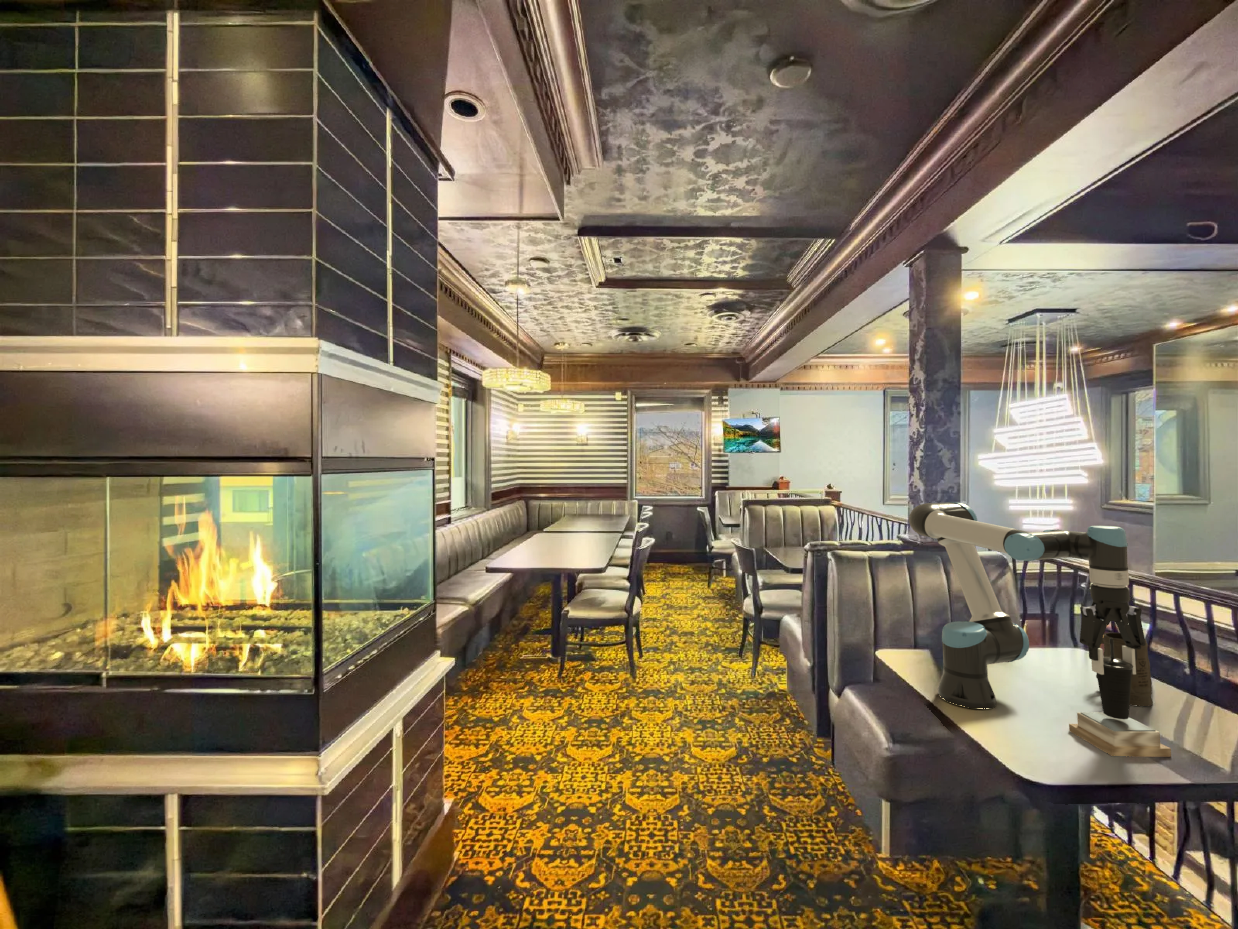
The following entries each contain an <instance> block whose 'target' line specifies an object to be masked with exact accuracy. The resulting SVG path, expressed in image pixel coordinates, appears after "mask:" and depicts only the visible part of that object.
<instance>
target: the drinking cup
mask: <svg viewBox="0 0 1238 929" xmlns="http://www.w3.org/2000/svg"><path fill="white" fill-rule="evenodd" d="M1110 652H1111V657H1103V664H1104V665H1103V667H1104V675H1101V674H1099V673H1096V674H1097V678H1096V679H1097V685H1098V690H1099V696H1100V697H1099V698H1100V702H1101V707H1102V708H1101V709H1102V712H1103V713H1104V714H1105V715H1107V716H1110V717H1113V718H1117V719H1128V718H1129V716H1130V706H1131V705H1130V691H1131V676H1132V669H1133V665H1132V664H1130V663H1128V662H1126V661H1124V660H1121V659H1118V658H1114V643H1113V638H1110Z"/></svg>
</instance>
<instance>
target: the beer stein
mask: <svg viewBox="0 0 1238 929" xmlns="http://www.w3.org/2000/svg"><path fill="white" fill-rule="evenodd" d="M1110 638H1113V643H1114V658H1118V659H1121V660H1123V655H1122V646H1127V645H1126V644H1125V642H1124V640H1123V638H1122V636H1121V634H1120V632H1104V635H1103V638H1102V641H1101V644H1100V647H1099V648H1100V649H1101V645H1103V647H1104V648H1103V657H1111V652H1110ZM1145 643H1146V644H1145V646H1141V649H1140V650H1138V649H1137V660H1135V665H1136V674H1132V676H1131V691H1130V705H1129V706H1132V705H1137V706H1136V707H1140V706H1148V707H1151V706H1153V704H1154V702H1153V698H1152V694H1153V692H1152V691H1153V690H1152V689H1153V686H1152V684H1153V682H1152V674H1151V664H1150V659H1149V653H1148V647H1149V645H1148V641H1147V639H1146V638H1145ZM1095 678H1096V679H1097V673H1096V675H1095Z"/></svg>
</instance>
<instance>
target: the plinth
mask: <svg viewBox="0 0 1238 929" xmlns="http://www.w3.org/2000/svg"><path fill="white" fill-rule="evenodd" d="M1076 718H1077V723H1068V728H1069V729H1068V730H1069V732H1070V733H1072V734H1073V733H1074V735H1075V736H1077V737H1078V736H1079V738H1080V739H1082V740H1084V741H1086V742H1087V743H1089V744H1090V745H1092V746H1094V747H1095V748H1097V749H1099V750H1101V751H1102V752H1104V753H1106V754H1107V753H1108V755H1109V756H1110V757H1112V756H1126V757H1127V756H1129V758H1130V757H1131V756H1132V758H1135V757H1136V758H1137V757H1138V758H1139V757H1142V758H1146V757H1149V758H1151V757H1153V758H1154V757H1155V758H1160V757H1164V758H1165V757H1166V758H1167V757H1168V758H1170V757H1171V758H1172V748H1171V747H1169V746H1167V745H1164V744H1162V743H1161V735H1160V734H1161V733H1160V731H1158V730H1156V729H1154V728H1152V727H1150V726H1148V725H1146V724H1144V723H1142V722H1140V721H1138V720H1136V719H1133V718H1131V717H1129V718H1128V719H1117V718H1113V717H1110V716H1107V715H1105V714H1104V713H1103V711H1101V712H1100V711H1099V712H1098V711H1093V712H1091V711H1089V712H1088V711H1087V712H1086V711H1083V712H1082V711H1080V712H1076ZM1126 757H1125V758H1126Z"/></svg>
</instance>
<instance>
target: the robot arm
mask: <svg viewBox="0 0 1238 929" xmlns="http://www.w3.org/2000/svg"><path fill="white" fill-rule="evenodd" d="M908 521H909V525H910V527H911V529H912V530H913V531H914V532H915V533H916V534H918V535H920V536H923V537H928V538H931V539H936V540H937V543H938V544H939V545H940V546H942V547H945V548H944V549H945V550H946V553H947V555H948V558H949V560H950V563H951V565H952V568H953V570H954V571H953V572H954V573H955V576H956V578H957V581H958V583H959V586H960V588H961V592H962V594H963V597H964V599H965V601H966V604H967V607H968V609H969V611H970V614H971V618H970V619H969V620H968V621H966V620H965V621H960V620H958V621H951V622H948V623H946V624H945V625H944V626H943V627H942V630H941V631H942V633H941V643H942V661H943V662H942V663H943V664H942V665H943V673H942V675H941V678H940V681H939V684H938V686H937V687H938V688H937V690H938V694H939V695H940V696H941V698H944V699H945V700H946V701H948V702H951V703H954V704H957V705H962V706H965V707H969V708H983V709H984V708H985V710H987V709H986V708H992V709H994V708H995V707H996V706H997V697H996V695H995V692H994V690H993V687H992V685H991V683H990V680H989V674H988V665H993V664H1002V663H1014V662H1015V661H1019V660H1022V659H1023V658H1024V657H1026V655H1027V654H1028V652H1029V649H1030V639H1029V637H1028V634H1027V632H1026V631H1025V629H1023V627H1021V626H1020V625H1018V624H1017V623H1014V622H1013V621H1012V618H1011V616H1010V614H1008V613H1006V612H1004V611H1003V610H1002V608H1001V606H1000V605H1001V604H1000V603H999V600H998V598H997V596H996V593H995V590H994V588H993V586H992V584H991V581H990V579H989V576H988V574H987V572H986V570H985V567H984V564H983V562H982V560H981V557H980V555H979V553H978V550H977V547H979V548H983V549H987V550H991V551H996V552H1000V553H1003V554H1007V555H1008V556H1010V557H1011V558H1012V559H1014V560H1017V561H1025V562H1030V561H1031V562H1033V561H1041V560H1051V559H1053V560H1054V559H1065V558H1066V559H1067V558H1070V559H1077V560H1083V561H1084V560H1085V561H1086V560H1087V561H1088V566H1089V568H1088V569H1089V572H1088V573H1089V582H1090V583H1091V584H1090V585H1089V589H1090V590H1089V591H1090V597H1091V599H1092V604H1091V605H1090V606H1080V607H1079V608H1080V614H1081V620H1080V621H1081V622H1080V633H1079V643H1080V644H1082V645H1084V646H1087V648H1088V658H1089V659H1090V660H1091V671H1092V672H1094V673H1096V674H1097V673H1099V674H1101V675H1104V667H1103V665H1104V664H1103V654H1104V648H1101V645H1102V644H1101V641H1102V638H1103V637H1104V634H1105V633H1106V629H1107V627H1108V626H1109V625H1110V624H1111V622H1114V623H1115V624H1116V627H1117V629H1118V632H1119V633H1120V634H1121V636H1122V638H1123V640H1124V642H1125V644H1126V645H1127V646H1122V655H1123V660H1124V661H1126V662H1128V663H1130V664H1132V665H1133V669H1132V674H1136V665H1135V660H1137V649H1138V650H1140V649H1141V646H1145V644H1146V643H1145V639H1146V638H1145V633H1144V628H1143V623H1142V618H1141V617H1142V609H1141V608H1140V607H1138V606H1137V607H1136V606H1132V605H1129V602H1130V601H1131V595H1130V587H1128V586H1129V585H1130V578H1129V576H1130V575H1129V567H1128V566H1129V564H1128V562H1129V561H1128V546H1129V545H1128V541H1127V535H1126V534H1127V533H1126V530H1125V529H1124V528H1123V527H1120V526H1113V525H1091V526H1088V527H1087V531H1086V532H1085V531H1074V530H1063V529H1045V530H1043V531H1037V532H1036V531H1033V532H1032V531H1026V530H1022V529H1016V528H1012V527H1007V526H1002V525H998V524H997V525H996V524H993V523H987V522H983V521H978V518H977V514H976V513H975V511H974V509H972V507H970V506H969V505H967V504H965V503H962V502H956V501H948V502H932V503H931V502H928V503H922V504H919V505H917V506H915V507H914V508H913V509H912V510H911V512H910V513H909V516H908ZM1100 644H1101V645H1100ZM1099 647H1100V648H1099ZM939 695H938V696H939ZM941 698H940V699H941ZM946 701H945V702H946ZM948 702H947V703H948ZM951 703H950V704H951ZM995 705H996V706H995ZM993 707H994V708H993ZM969 708H968V709H969Z"/></svg>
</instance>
